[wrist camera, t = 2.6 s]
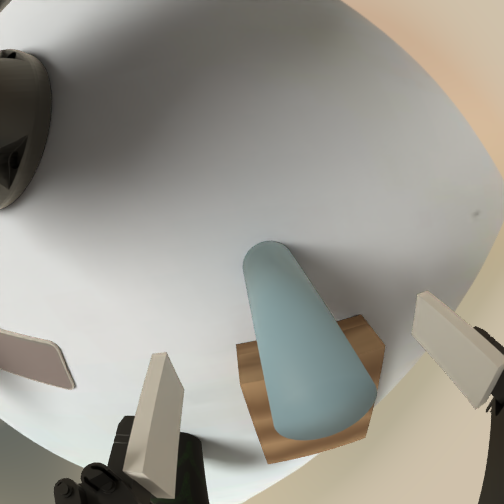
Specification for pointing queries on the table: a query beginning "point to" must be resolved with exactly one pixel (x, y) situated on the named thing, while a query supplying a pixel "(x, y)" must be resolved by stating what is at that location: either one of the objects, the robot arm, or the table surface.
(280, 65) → the table surface
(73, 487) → the robot arm
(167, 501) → the cup
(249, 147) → the table surface
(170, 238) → the table surface
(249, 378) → the bore block
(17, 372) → the smartphone
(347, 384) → the pin
